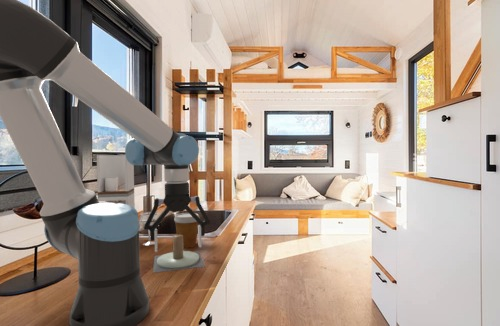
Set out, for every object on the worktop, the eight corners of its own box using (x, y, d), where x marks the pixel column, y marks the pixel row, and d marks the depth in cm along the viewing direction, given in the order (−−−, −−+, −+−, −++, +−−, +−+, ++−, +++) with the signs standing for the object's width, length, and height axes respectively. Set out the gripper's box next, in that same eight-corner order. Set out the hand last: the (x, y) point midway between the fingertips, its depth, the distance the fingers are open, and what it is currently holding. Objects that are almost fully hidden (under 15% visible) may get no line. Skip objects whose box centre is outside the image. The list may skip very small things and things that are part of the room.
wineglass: (143, 241, 115) (142, 211, 115) (160, 241, 116) (159, 211, 115) (137, 246, 109) (136, 215, 108) (155, 246, 109) (155, 214, 109)
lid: (156, 271, 83) (155, 243, 83) (157, 256, 96) (157, 232, 96) (201, 265, 87) (200, 239, 87) (196, 252, 100) (196, 229, 99)
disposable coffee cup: (194, 251, 102) (193, 218, 102) (169, 250, 104) (169, 217, 104) (203, 243, 112) (203, 212, 111) (181, 242, 114) (180, 212, 113)
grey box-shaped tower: (108, 240, 118) (105, 155, 117) (135, 238, 120) (133, 155, 119) (99, 248, 107) (96, 155, 106) (129, 246, 109) (127, 154, 108)
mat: (152, 274, 82) (152, 272, 82) (154, 257, 97) (154, 255, 97) (205, 268, 86) (205, 266, 86) (199, 252, 101) (199, 251, 101)
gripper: (213, 179, 98) (215, 241, 99) (136, 182, 91) (137, 248, 92) (217, 181, 91) (219, 247, 91) (133, 185, 84) (135, 256, 84)
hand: (178, 248), depth 91 cm, fingers open, 13 cm apart
